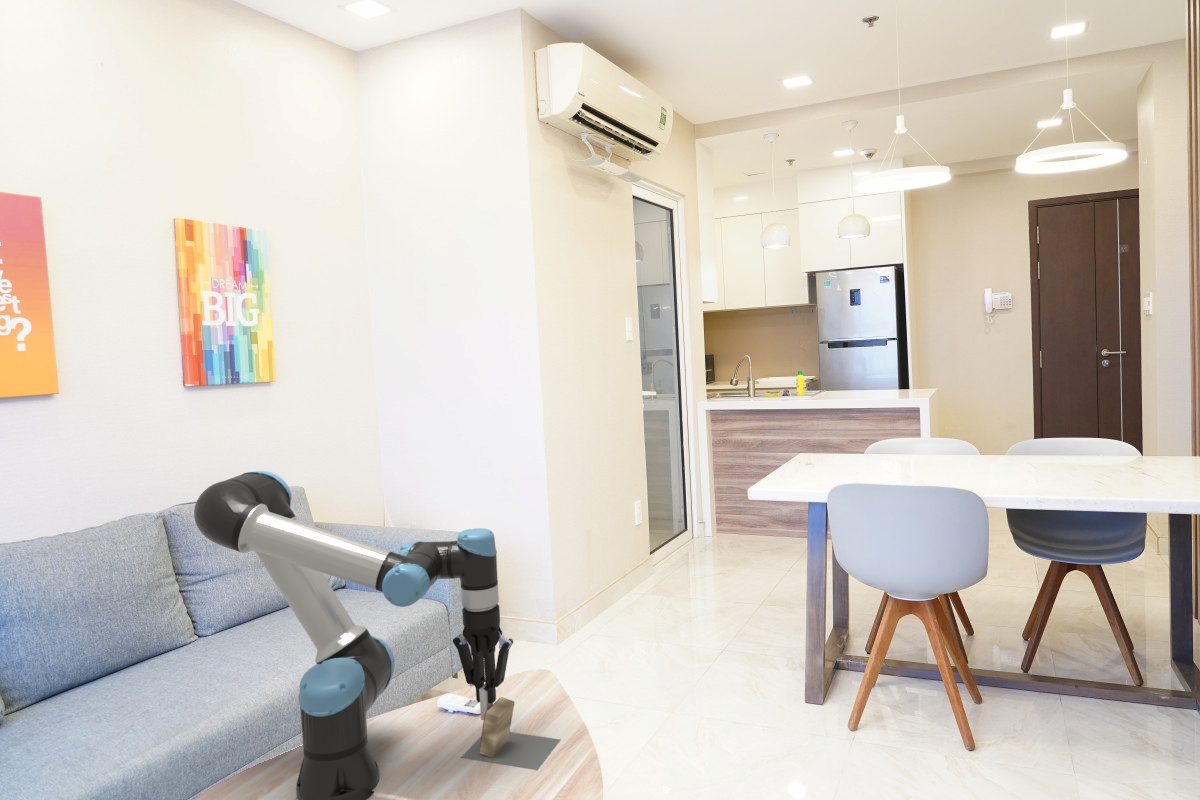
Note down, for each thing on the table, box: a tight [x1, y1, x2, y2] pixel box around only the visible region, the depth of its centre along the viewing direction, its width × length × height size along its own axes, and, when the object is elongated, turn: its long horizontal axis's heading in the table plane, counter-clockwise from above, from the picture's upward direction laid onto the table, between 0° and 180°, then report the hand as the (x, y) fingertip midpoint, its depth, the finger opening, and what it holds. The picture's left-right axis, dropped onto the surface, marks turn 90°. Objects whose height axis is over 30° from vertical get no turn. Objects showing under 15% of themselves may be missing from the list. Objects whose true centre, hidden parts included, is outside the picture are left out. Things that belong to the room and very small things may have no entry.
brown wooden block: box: [479, 696, 515, 758], centre depth 159 cm, size 3×7×9 cm, turn 161°
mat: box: [460, 731, 561, 771], centre depth 159 cm, size 17×12×1 cm
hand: (487, 717), depth 160 cm, fingers closed
